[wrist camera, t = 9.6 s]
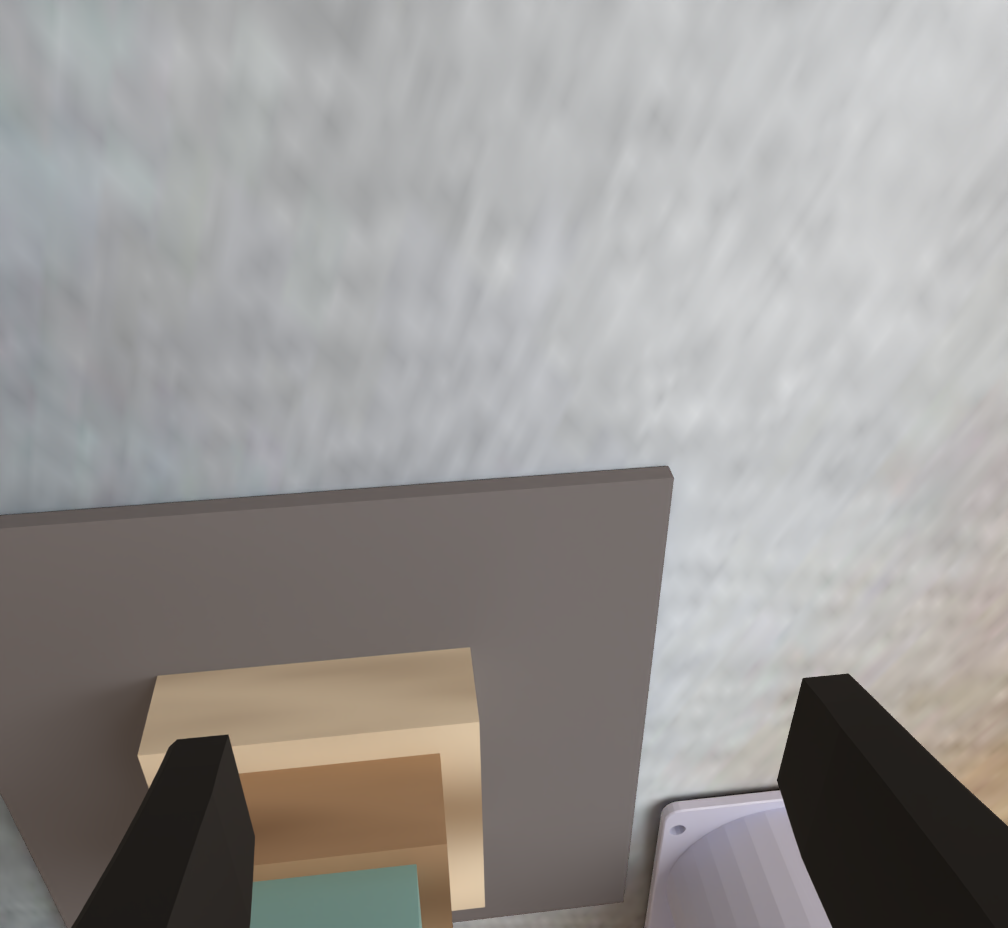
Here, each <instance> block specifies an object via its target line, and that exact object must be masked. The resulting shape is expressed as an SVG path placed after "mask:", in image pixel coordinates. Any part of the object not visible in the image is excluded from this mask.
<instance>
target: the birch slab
mask: <svg viewBox="0 0 1008 928" xmlns="http://www.w3.org/2000/svg"><path fill="white" fill-rule="evenodd" d="M227 734H229V738H230V742H231V746H232V750H233V754H234V757H235V761H236V765H237V769H238V773H239V774H240V773H250V772H260V771H270V770H279V769H289V768H299V767H309V766H319V765H328V764H338V763H348V762H358V761H368V760H377V759H387V758H397V757H407V756H417V755H426V754H436V753H440V759H441V772H442V784H443V797H444V810H445V823H446V836H447V850H448V864H449V879H450V894H451V909H452V911H456V910H465V909H473V908H481V907H485V889H484V856H483V823H482V790H481V757H480V724H479V714H478V706H477V698H476V690H475V682H474V674H473V666H472V658H471V650H470V647H467V648H456V649H445V650H434V651H423V652H412V653H401V654H390V655H379V656H369V657H358V658H347V659H336V660H325V661H314V662H303V663H292V664H281V665H270V666H259V667H248V668H237V669H226V670H215V671H204V672H193V673H182V674H171V675H160V676H157V680H156V684H155V688H154V692H153V696H152V700H151V704H150V708H149V712H148V716H147V720H146V724H145V728H144V731H143V735H142V739H141V743H140V747H139V751H138V755H137V756H138V759H139V762H140V765H141V767H142V770H143V773H144V776H145V779H146V782H147V785H148V787H150V785H151V783H152V781H153V779H154V777H155V775H156V773H157V771H158V769H159V767H160V765H161V763H162V761H163V759H164V757H165V754H166V752H167V750H168V748H169V746H170V745H171V744H173V743H174V742H175V741H176V740H177V739H186V738H196V737H206V736H217V735H227Z"/></svg>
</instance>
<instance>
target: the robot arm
mask: <svg viewBox="0 0 1008 928" xmlns="http://www.w3.org/2000/svg"><path fill="white" fill-rule="evenodd" d="M777 782H778V785H779V788H780V790H776V791H767V792H758V793H749V794H740V795H731V796H722V797H712V798H703V799H694V800H685V801H677V802H672V803H670V804H668V805H667V806H666V807H664V809H663V810H662V812H661V818H660V825H659V832H658V838H657V845H656V852H655V859H654V866H653V873H652V880H651V886H650V893H649V900H648V907H647V914H646V921H645V927H644V928H1008V826H1007V825H1006V824H1005V823H1004V822H1003V821H1002V820H1001V819H1000V818H998V817H997V816H996V815H995V814H994V813H993V812H992V811H991V810H990V809H989V808H988V807H987V806H985V805H984V804H983V803H982V802H981V801H980V800H979V799H978V798H977V797H976V796H975V795H973V794H972V793H971V792H970V791H969V790H968V789H967V788H966V787H965V786H964V785H963V784H962V783H960V782H959V781H958V780H957V779H956V778H955V777H954V776H953V775H952V774H951V773H950V772H949V771H948V770H947V769H946V768H945V767H944V766H943V765H942V764H940V763H939V762H938V761H937V760H936V759H935V758H934V757H933V756H932V755H931V754H930V753H929V752H928V751H927V750H926V749H925V748H924V747H923V746H922V745H921V744H920V743H919V742H918V741H917V740H916V739H915V738H914V737H913V736H912V735H911V734H910V733H909V732H908V731H907V730H906V729H905V728H904V727H903V726H902V725H901V724H899V723H898V722H897V721H896V720H895V719H894V718H893V717H892V716H891V715H890V714H889V713H888V712H887V711H886V710H885V709H884V708H883V707H882V706H881V705H880V704H879V703H878V702H877V701H876V700H875V699H874V698H873V697H872V696H871V695H870V694H869V693H868V692H867V691H866V690H865V689H864V688H863V687H862V686H861V685H860V684H859V683H858V682H857V681H856V680H855V679H854V678H853V677H851V676H850V675H849V674H840V675H830V676H819V677H809V678H803V679H802V683H801V687H800V691H799V695H798V699H797V703H796V707H795V711H794V715H793V719H792V723H791V727H790V731H789V735H788V739H787V743H786V747H785V751H784V755H783V759H782V763H781V767H780V770H779V774H778V778H777ZM254 850H255V834H254V830H253V827H252V823H251V819H250V815H249V811H248V807H247V804H246V800H245V796H244V792H243V788H242V784H241V781H240V777H239V773H238V769H237V765H236V761H235V757H234V754H233V750H232V746H231V742H230V738H229V734H227V735H217V736H206V737H196V738H186V739H177V740H176V741H175V742H174V743H173V744H171V745H170V746H169V748H168V750H167V752H166V754H165V757H164V759H163V761H162V763H161V765H160V767H159V769H158V771H157V773H156V775H155V777H154V779H153V781H152V783H151V785H150V787H149V789H148V791H147V793H146V795H145V797H144V799H143V801H142V803H141V805H140V807H139V809H138V811H137V813H136V815H135V817H134V819H133V820H132V822H131V824H130V826H129V828H128V830H127V831H126V833H125V835H124V837H123V839H122V841H121V843H120V844H119V846H118V848H117V850H116V852H115V853H114V855H113V857H112V859H111V860H110V862H109V864H108V866H107V867H106V869H105V871H104V873H103V874H102V876H101V878H100V879H99V881H98V883H97V885H96V886H95V888H94V890H93V891H92V893H91V895H90V897H89V898H88V900H87V902H86V904H85V905H84V907H83V909H82V910H81V912H80V914H79V916H78V917H77V919H76V920H75V922H74V924H73V925H72V927H71V928H250V921H251V905H252V889H253V871H254Z"/></svg>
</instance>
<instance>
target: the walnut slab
mask: <svg viewBox="0 0 1008 928" xmlns="http://www.w3.org/2000/svg"><path fill="white" fill-rule="evenodd" d="M239 777H240V781H241V784H242V788H243V792H244V796H245V800H246V804H247V807H248V811H249V815H250V819H251V823H252V827H253V830H254V834H255V850H254V871H253V882H257V881H267V880H276V879H285V878H294V877H303V876H312V875H321V874H331V873H340V872H349V871H358V870H367V869H376V868H385V867H395V866H404V865H413V864H416V865H417V876H418V888H419V899H420V910H421V921H422V928H453V924H452V909H451V894H450V879H449V864H448V850H447V836H446V823H445V810H444V797H443V784H442V772H441V759H440V753H436V754H426V755H417V756H407V757H397V758H387V759H377V760H368V761H358V762H348V763H338V764H328V765H319V766H309V767H299V768H289V769H279V770H270V771H260V772H250V773H240V774H239Z"/></svg>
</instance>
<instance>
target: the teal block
mask: <svg viewBox="0 0 1008 928" xmlns="http://www.w3.org/2000/svg"><path fill="white" fill-rule="evenodd" d="M250 928H422V921H421V910H420V899H419V888H418V876H417V865H416V864H413V865H404V866H395V867H385V868H376V869H367V870H358V871H349V872H340V873H331V874H321V875H312V876H303V877H294V878H285V879H276V880H267V881H257V882H253V889H252V905H251V921H250Z"/></svg>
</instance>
